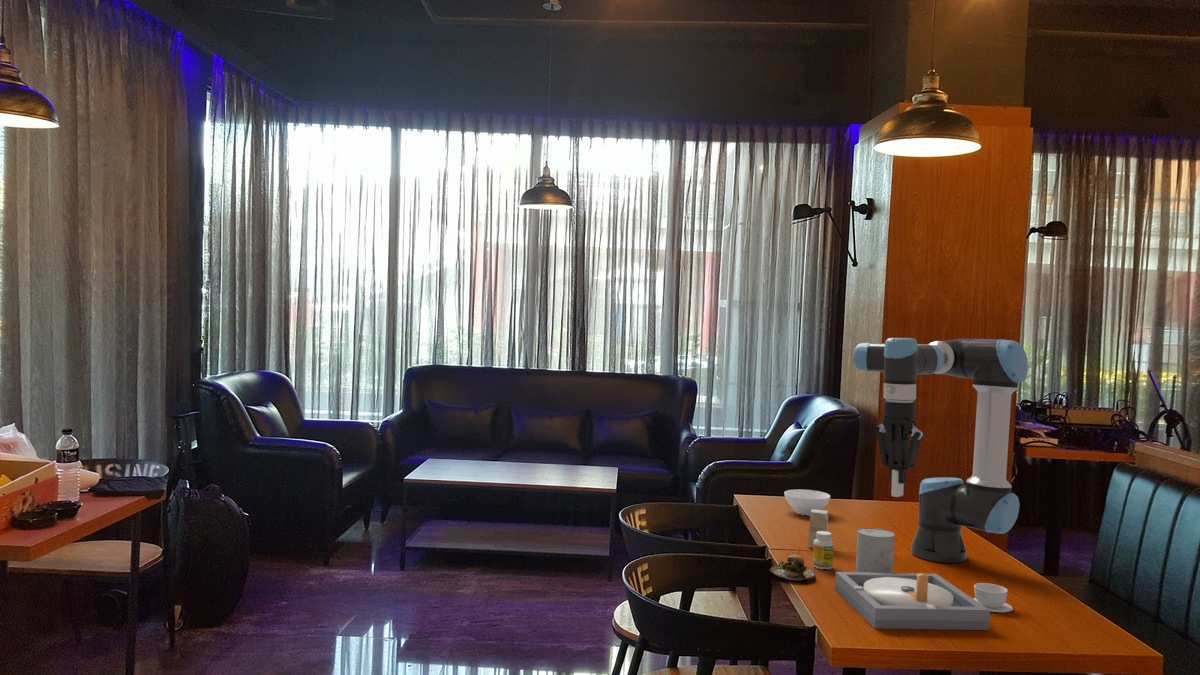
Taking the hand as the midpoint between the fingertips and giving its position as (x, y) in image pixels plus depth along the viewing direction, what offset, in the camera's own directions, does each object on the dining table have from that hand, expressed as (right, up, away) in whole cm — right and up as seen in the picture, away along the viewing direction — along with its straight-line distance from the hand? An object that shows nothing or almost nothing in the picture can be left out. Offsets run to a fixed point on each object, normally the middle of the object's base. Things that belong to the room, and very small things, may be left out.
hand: (897, 495), depth 198 cm
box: (-7, -25, +45) cm, 52 cm away
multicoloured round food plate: (-22, -25, +15) cm, 37 cm away
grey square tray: (0, -26, -7) cm, 26 cm away
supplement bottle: (-12, -25, +25) cm, 37 cm away
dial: (0, -23, -7) cm, 24 cm away
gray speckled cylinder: (0, -26, +16) cm, 30 cm away
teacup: (+21, -27, -3) cm, 34 cm away
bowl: (+1, -24, +90) cm, 93 cm away
